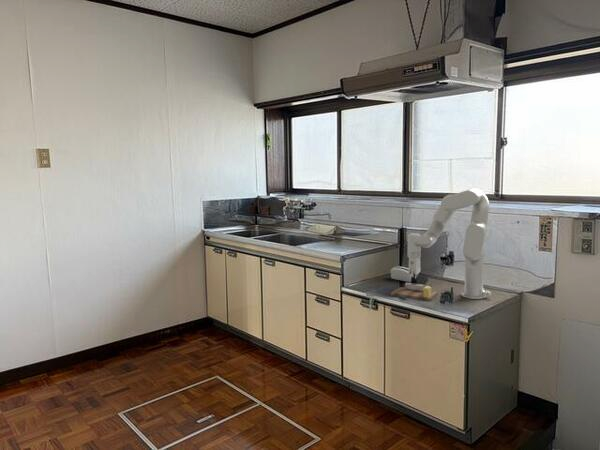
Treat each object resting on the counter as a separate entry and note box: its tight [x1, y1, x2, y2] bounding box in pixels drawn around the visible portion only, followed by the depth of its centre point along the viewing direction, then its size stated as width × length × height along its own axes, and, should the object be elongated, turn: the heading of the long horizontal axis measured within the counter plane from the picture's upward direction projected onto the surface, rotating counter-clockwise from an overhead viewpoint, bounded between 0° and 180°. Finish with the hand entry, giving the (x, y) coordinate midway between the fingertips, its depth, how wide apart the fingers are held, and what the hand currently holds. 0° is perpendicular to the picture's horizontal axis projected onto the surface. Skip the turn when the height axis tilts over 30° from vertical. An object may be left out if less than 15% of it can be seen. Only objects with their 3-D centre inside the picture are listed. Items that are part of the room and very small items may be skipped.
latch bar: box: [404, 282, 430, 291], centre depth 265 cm, size 14×3×3 cm, turn 55°
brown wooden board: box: [390, 286, 440, 302], centre depth 261 cm, size 23×14×2 cm, turn 55°
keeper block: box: [423, 285, 432, 298], centre depth 253 cm, size 3×4×5 cm
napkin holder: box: [390, 266, 411, 283], centre depth 293 cm, size 17×5×10 cm, turn 43°
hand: (414, 284), depth 271 cm, fingers closed
